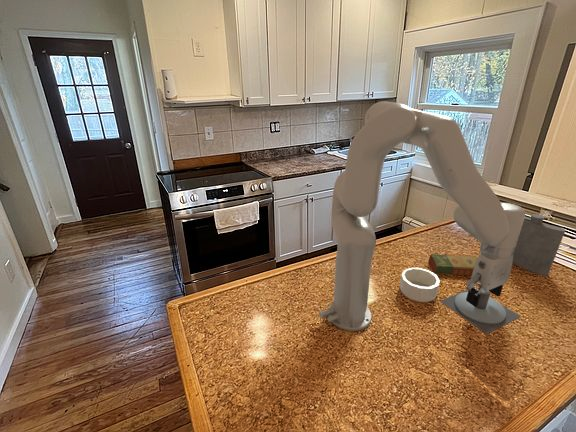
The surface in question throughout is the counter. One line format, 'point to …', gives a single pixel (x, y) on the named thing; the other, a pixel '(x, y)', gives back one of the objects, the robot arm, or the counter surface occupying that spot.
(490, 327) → the mat
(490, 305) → the lid
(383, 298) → the counter surface
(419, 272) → the bowl
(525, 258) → the hip flask
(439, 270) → the carton
